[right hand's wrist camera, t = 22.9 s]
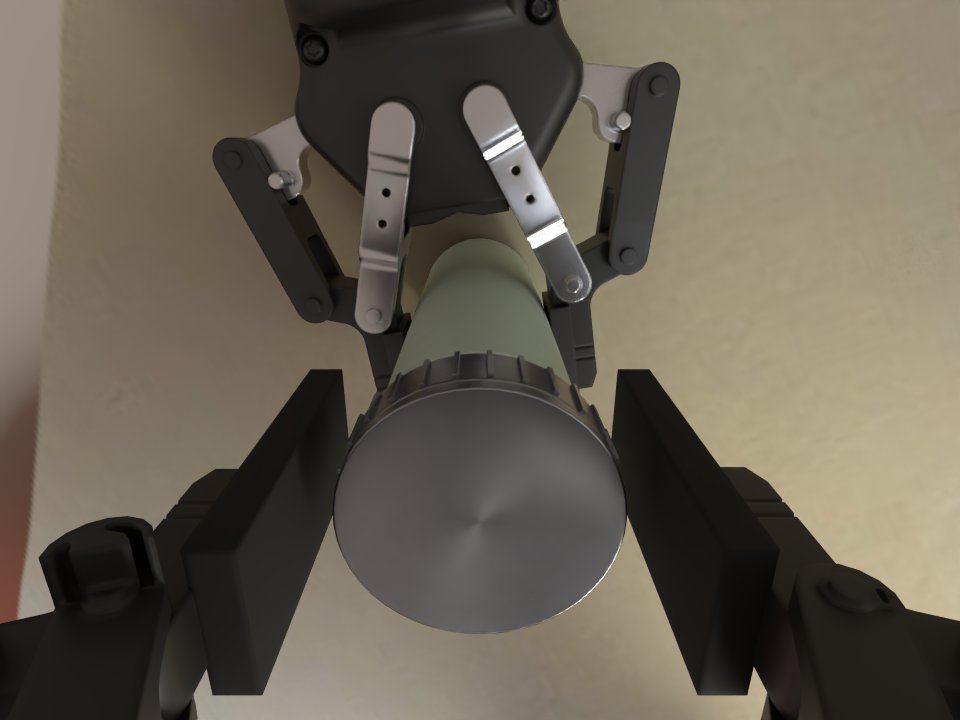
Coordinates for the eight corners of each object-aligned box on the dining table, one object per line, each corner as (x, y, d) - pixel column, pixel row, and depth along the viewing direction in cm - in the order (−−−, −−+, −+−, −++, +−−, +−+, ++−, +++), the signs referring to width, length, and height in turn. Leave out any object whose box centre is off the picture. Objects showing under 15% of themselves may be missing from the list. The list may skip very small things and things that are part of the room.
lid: (300, 496, 12) (273, 549, 11) (447, 293, 11) (441, 320, 9) (505, 614, 14) (509, 678, 12) (666, 446, 12) (695, 494, 10)
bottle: (413, 324, 27) (333, 554, 12) (444, 223, 25) (394, 346, 10) (512, 355, 27) (550, 610, 13) (549, 257, 26) (641, 421, 11)
